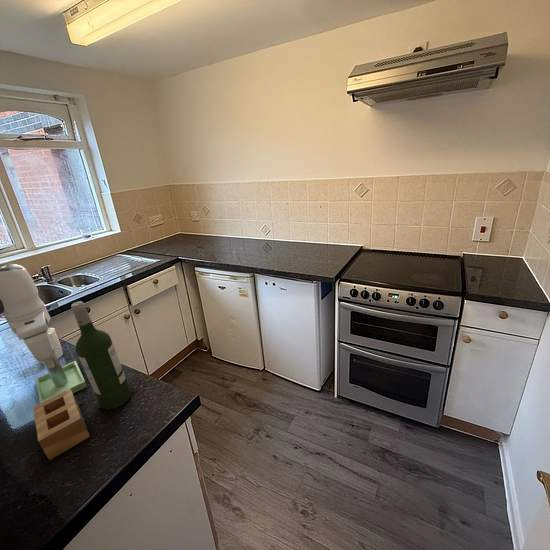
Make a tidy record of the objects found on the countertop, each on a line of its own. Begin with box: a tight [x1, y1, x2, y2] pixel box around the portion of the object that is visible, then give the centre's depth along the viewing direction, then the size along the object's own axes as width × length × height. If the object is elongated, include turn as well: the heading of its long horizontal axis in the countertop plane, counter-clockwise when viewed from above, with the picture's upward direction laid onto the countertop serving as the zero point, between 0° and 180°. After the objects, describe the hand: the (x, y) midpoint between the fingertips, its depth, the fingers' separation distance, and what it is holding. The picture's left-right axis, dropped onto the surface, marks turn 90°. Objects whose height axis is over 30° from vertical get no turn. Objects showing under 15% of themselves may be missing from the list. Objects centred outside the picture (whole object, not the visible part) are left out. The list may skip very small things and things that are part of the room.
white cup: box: [41, 327, 64, 364], centre depth 105 cm, size 8×8×10 cm
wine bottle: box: [70, 300, 132, 410], centre depth 77 cm, size 8×8×30 cm
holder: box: [32, 389, 91, 461], centre depth 74 cm, size 15×8×6 cm, turn 42°
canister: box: [42, 348, 68, 387], centre depth 89 cm, size 3×3×12 cm
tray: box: [34, 360, 88, 404], centre depth 91 cm, size 15×11×2 cm
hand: (49, 359), depth 88 cm, fingers open, 8 cm apart
